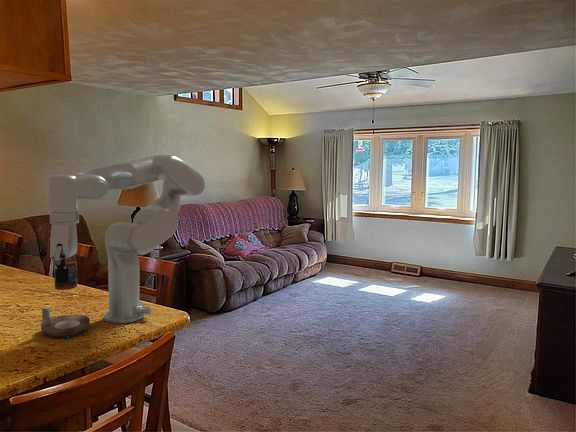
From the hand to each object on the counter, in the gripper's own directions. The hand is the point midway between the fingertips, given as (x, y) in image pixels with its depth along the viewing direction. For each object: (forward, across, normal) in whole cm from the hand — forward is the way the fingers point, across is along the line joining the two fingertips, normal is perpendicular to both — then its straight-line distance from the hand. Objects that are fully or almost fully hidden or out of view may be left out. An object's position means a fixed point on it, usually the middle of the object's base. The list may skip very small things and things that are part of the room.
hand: (65, 279), depth 128 cm
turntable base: (+17, -1, -1) cm, 17 cm away
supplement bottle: (+3, 0, 0) cm, 3 cm away
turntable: (+15, -3, -1) cm, 15 cm away
